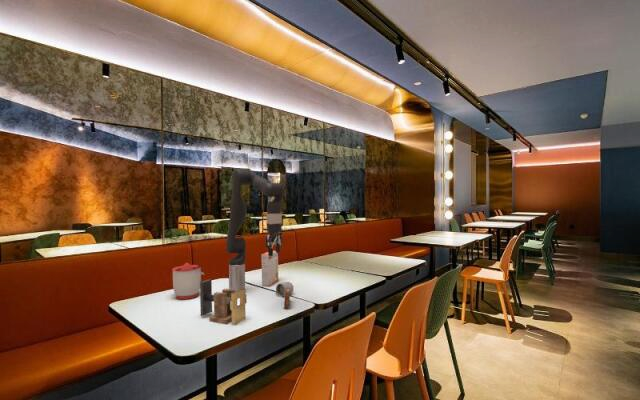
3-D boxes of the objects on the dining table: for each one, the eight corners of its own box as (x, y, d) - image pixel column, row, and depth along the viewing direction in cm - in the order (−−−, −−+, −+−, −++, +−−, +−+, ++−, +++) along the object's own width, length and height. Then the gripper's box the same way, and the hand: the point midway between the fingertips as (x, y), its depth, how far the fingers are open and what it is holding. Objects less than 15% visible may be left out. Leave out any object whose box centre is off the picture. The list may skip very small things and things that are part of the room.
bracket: (209, 321, 146) (208, 293, 146) (223, 313, 155) (223, 287, 155) (226, 324, 142) (226, 295, 142) (240, 316, 151) (239, 289, 151)
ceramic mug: (294, 294, 185) (294, 281, 185) (285, 298, 178) (284, 284, 178) (281, 291, 191) (281, 279, 191) (271, 295, 185) (271, 282, 185)
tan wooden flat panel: (230, 325, 141) (229, 294, 141) (244, 317, 151) (243, 288, 150) (233, 325, 141) (232, 294, 141) (246, 317, 150) (246, 288, 150)
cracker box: (270, 280, 216) (270, 250, 216) (278, 281, 215) (278, 250, 214) (261, 286, 203) (260, 254, 203) (269, 286, 201) (269, 254, 201)
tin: (284, 300, 174) (284, 285, 174) (290, 300, 174) (290, 285, 174) (283, 310, 159) (283, 293, 159) (290, 310, 159) (289, 293, 159)
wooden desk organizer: (200, 315, 151) (200, 282, 151) (209, 311, 156) (209, 279, 156) (226, 320, 145) (226, 285, 145) (235, 315, 150) (234, 282, 150)
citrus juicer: (208, 296, 183) (207, 262, 183) (176, 303, 172) (175, 266, 172) (200, 290, 195) (199, 258, 195) (169, 296, 185) (169, 262, 185)
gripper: (273, 221, 167) (274, 251, 167) (260, 223, 154) (260, 256, 154) (286, 221, 165) (286, 252, 165) (274, 223, 151) (274, 257, 152)
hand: (274, 254), depth 159 cm, fingers open, 8 cm apart
